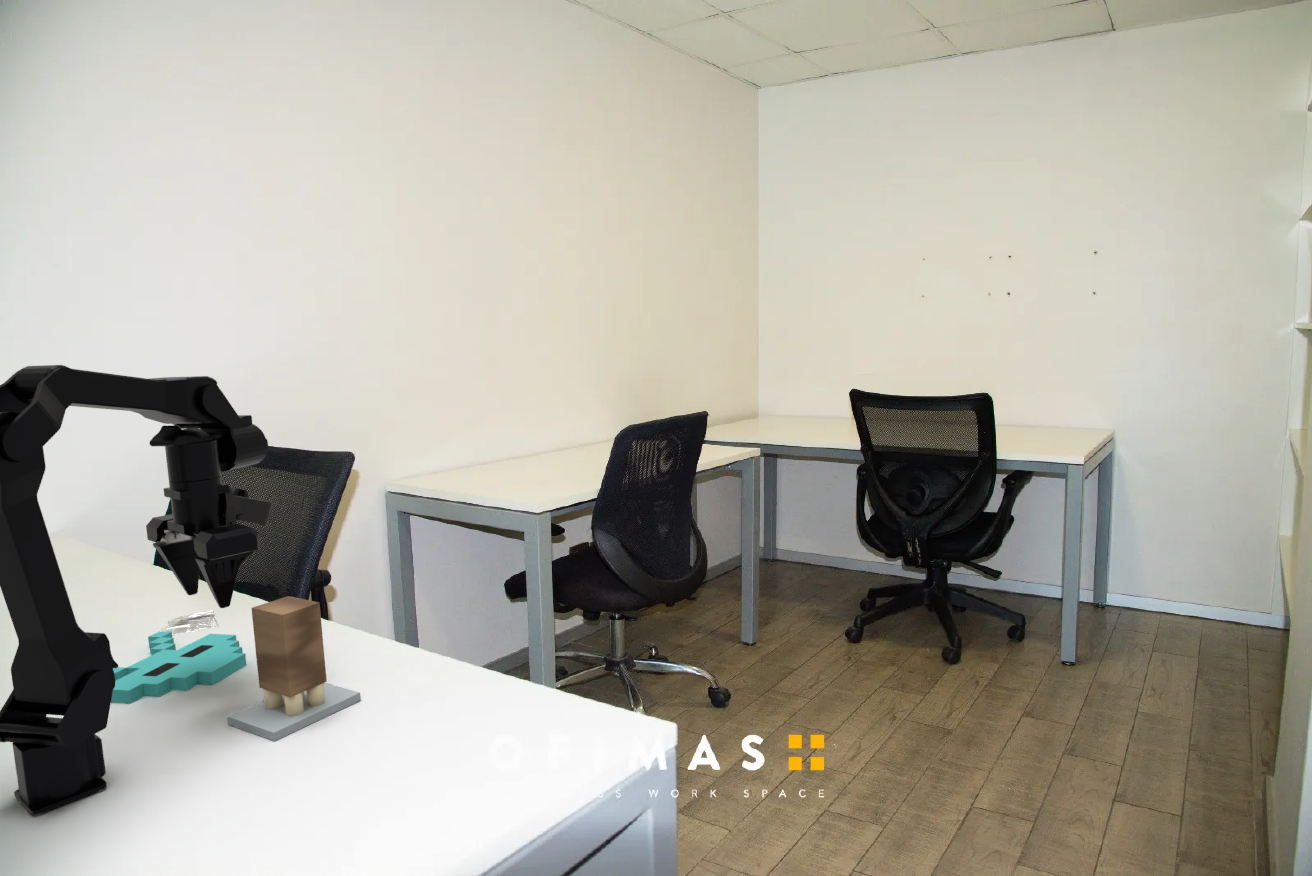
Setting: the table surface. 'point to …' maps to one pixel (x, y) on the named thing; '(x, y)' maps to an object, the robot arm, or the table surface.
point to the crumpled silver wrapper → (190, 623)
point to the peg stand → (292, 710)
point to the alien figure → (178, 666)
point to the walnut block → (289, 645)
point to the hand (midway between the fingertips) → (208, 600)
